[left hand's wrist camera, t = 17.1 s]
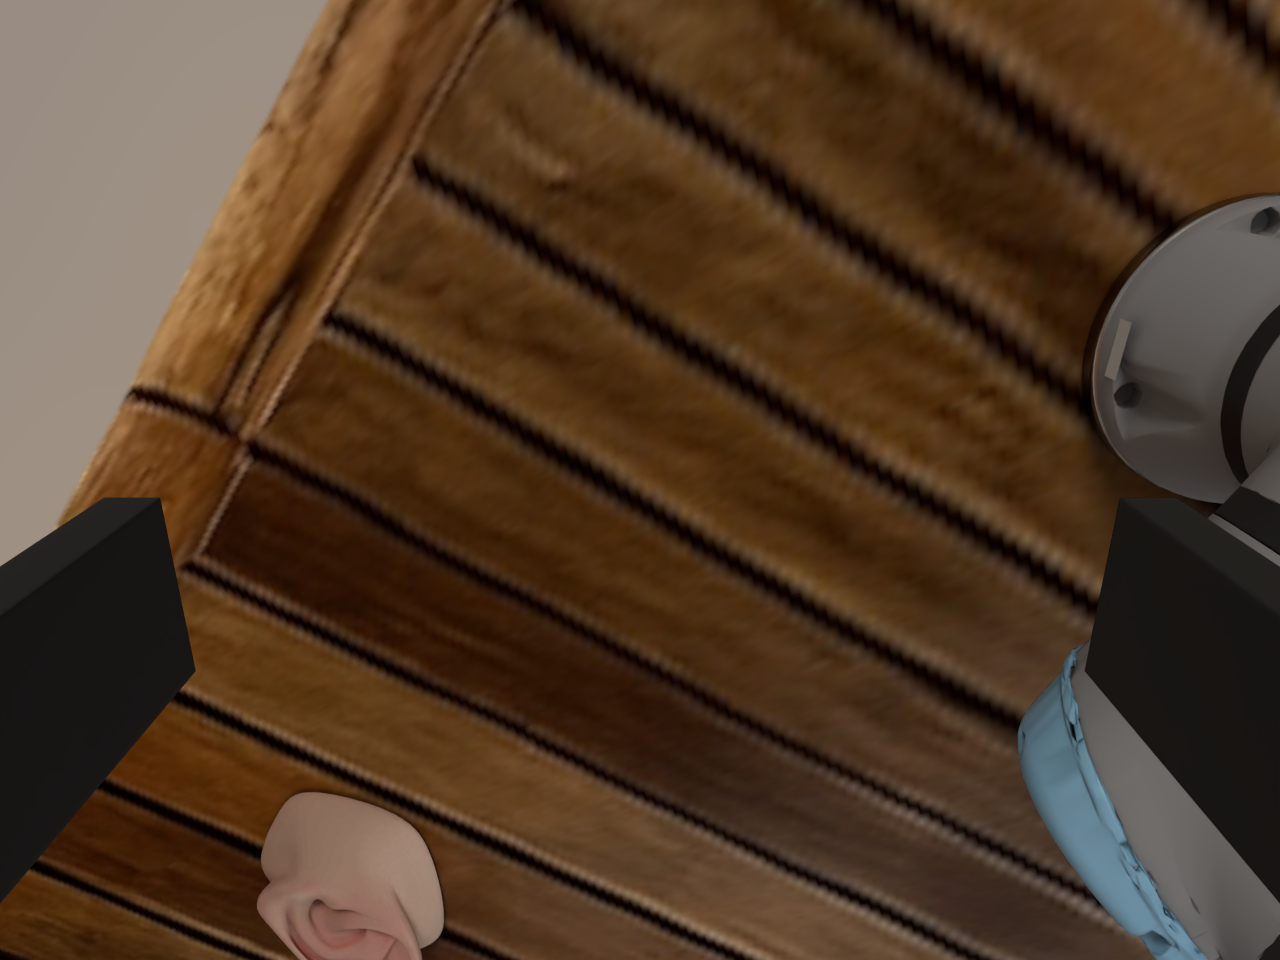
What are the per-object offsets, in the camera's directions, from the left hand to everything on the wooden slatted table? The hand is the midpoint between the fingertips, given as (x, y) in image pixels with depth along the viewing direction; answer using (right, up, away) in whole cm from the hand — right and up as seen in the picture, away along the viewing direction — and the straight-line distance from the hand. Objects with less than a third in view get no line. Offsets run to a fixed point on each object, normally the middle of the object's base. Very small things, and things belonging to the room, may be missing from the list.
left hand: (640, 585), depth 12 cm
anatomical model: (-18, -24, +45) cm, 54 cm away
